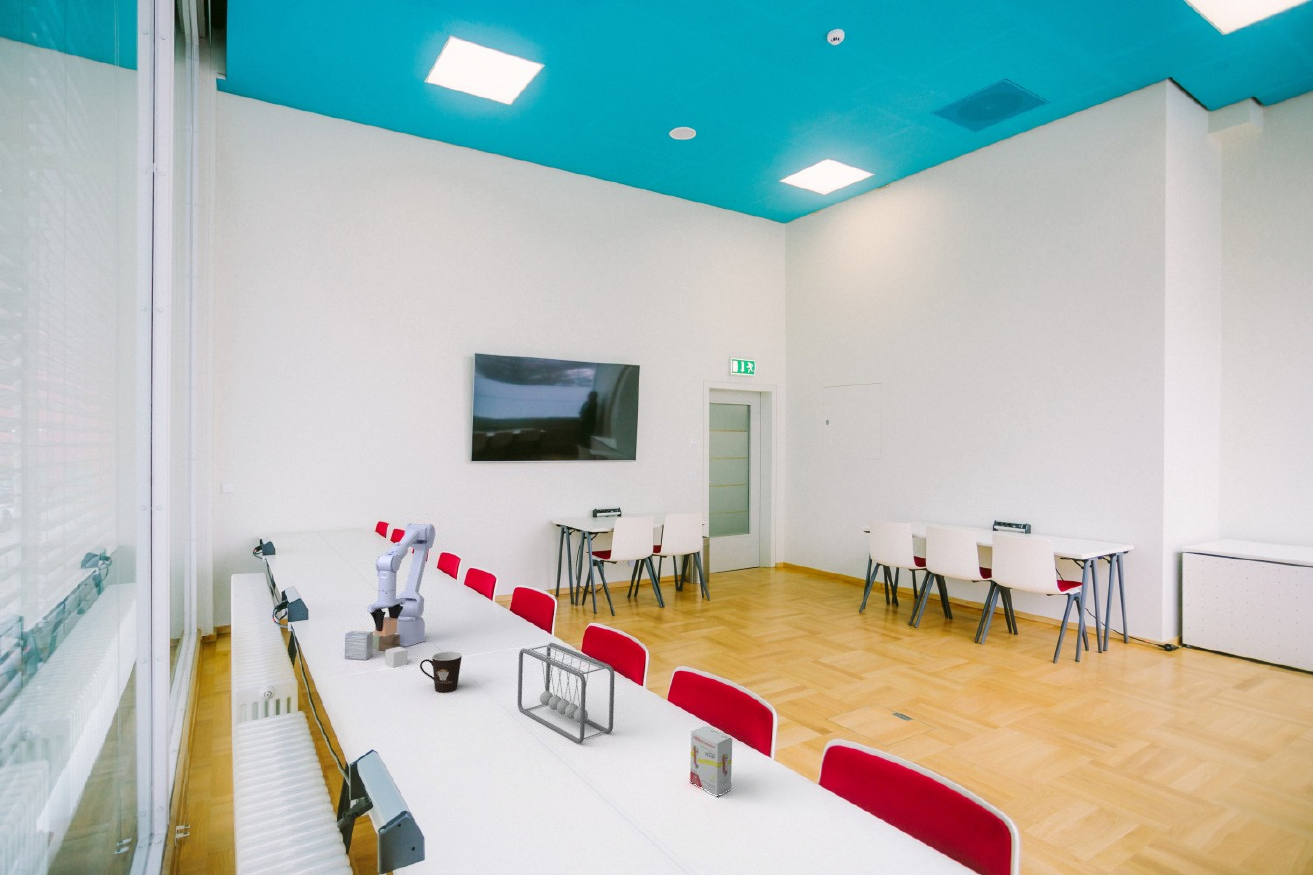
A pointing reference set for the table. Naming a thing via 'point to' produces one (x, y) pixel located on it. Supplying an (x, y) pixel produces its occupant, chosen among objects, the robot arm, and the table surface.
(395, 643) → the walnut block
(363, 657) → the medicine box
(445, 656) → the coffee mug
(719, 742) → the ink box
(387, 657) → the pale grey block
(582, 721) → the newton's cradle
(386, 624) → the terracotta block
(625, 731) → the table surface
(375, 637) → the sage block
